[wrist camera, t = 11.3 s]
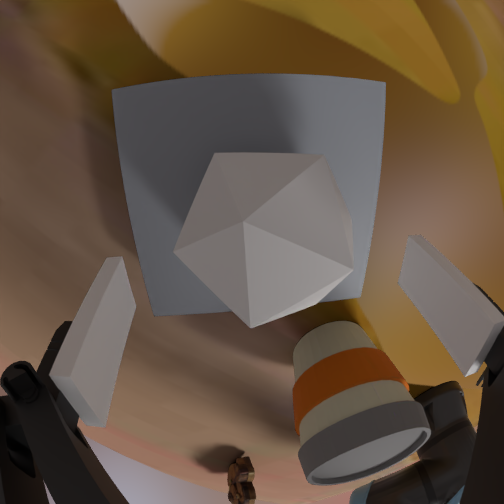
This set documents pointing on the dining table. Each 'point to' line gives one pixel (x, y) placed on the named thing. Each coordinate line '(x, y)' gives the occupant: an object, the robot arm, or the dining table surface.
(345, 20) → the dining table surface
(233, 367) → the dining table surface
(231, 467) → the wooden carving
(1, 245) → the dining table surface
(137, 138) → the slate block
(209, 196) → the die
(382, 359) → the reusable coffee cup
